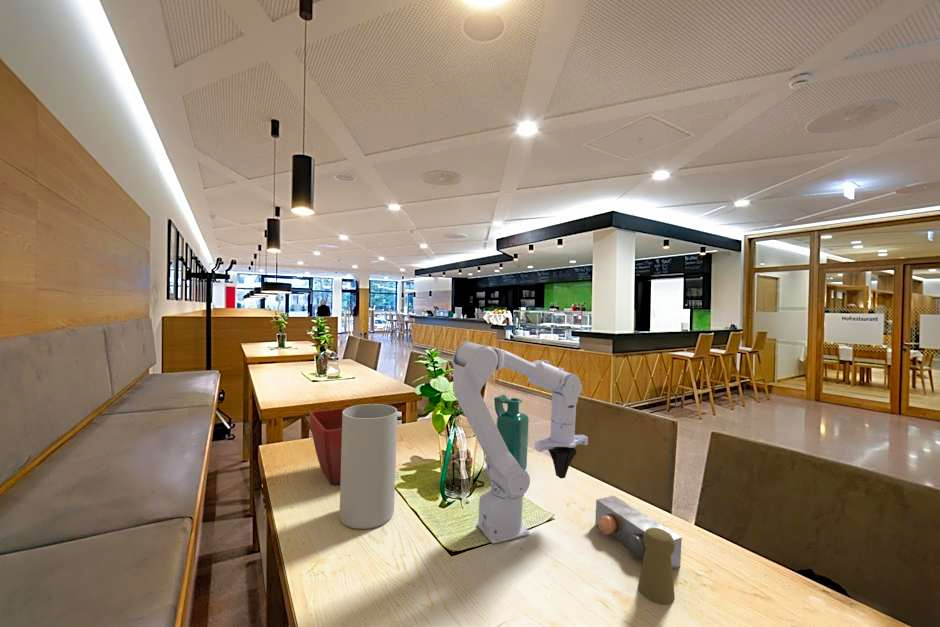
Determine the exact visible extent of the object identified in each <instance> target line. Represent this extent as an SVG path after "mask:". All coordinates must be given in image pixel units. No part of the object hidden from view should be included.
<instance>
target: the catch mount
mask: <svg viewBox="0 0 940 627" xmlns="http://www.w3.org/2000/svg"><path fill="white" fill-rule="evenodd" d="M605 515H611V516H612V517H613V518H614V519H616V520H617V530H616V532H614V533H610V534H608V536H610V537H611V538H613V540H615V541H616V542H618V543H619V544H620V545H622V546H623V547H625V548H626V549H627V546H626V538H627V537H629V536H632V535H635V534H638V535H640V536H641V537H642V538H643V534H644V532H645V531H646V530H647V529H648V528H659V529H662V530H664V531H666V532H668V533H669V534H670V535H671V536H672V538H673V539H674V544H675V549H674V551H673V554H671V563H672V571H673V570H675V569H678V568H681V557H682V543H683V542H682V540H683V539H682V538H683V537H682V536H680V535H678V533H675V532H674V531H672V530H671V529H670V528H667V527H666V526H664V525H662V524H661V523H660V522H657V521H656V520H654V519H653V518H651V517H649V516H648V515H647V514H646V513H643V512H642V511H640V510H638V509H637V508H635V507H633V506H632V505H630V504H628V503H627V502H625V501H624V500H622V499H620V498H619V497H617V496H616V495H610V496H605V497H601V498H597V499H596V502H595V521H594V522H595V524H594V525H595V526H596V527H598V528H599V524H598V519H599V517H601V516H605ZM637 557H638V558H639V559H640V560H642V561H643V558H644V554H643V555H640V556H637Z"/></svg>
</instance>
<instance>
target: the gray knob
mask: <svg viewBox="0 0 940 627" xmlns="http://www.w3.org/2000/svg"><path fill="white" fill-rule="evenodd" d="M626 546H627V548H626V549H627V550H628V552H629V553H630V554H631V556H633V557H638V556H640V555H643V554H645V549H646V547H645V546H644V542H643V538H642V537H641V536H640V535H638V534H635V535H632V536H629V537H627V538H626Z"/></svg>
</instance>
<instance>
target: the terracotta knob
mask: <svg viewBox="0 0 940 627" xmlns="http://www.w3.org/2000/svg"><path fill="white" fill-rule="evenodd" d="M598 524H599V527H598V528H599V530H600V531H601V533H602V534H604V535H609V534H610V533H614V532H616V530H617V520H616V519H614V518H613V517H612V516H611V515H605V516H601V517H599V519H598Z"/></svg>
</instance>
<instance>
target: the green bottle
mask: <svg viewBox="0 0 940 627" xmlns="http://www.w3.org/2000/svg"><path fill="white" fill-rule="evenodd" d="M493 400H494V402H493V403H494V409H495V413H496V415H497V418H496V426H497V428H498V430H499V432H500V434H501V436H502V438H503V440H504V442H505V444H506V446H507V448H508V451H509V452H510V453H511V454H512V456H513V457H514V458H515V459H516V461H517V462H518V463H519V465H520V467H521V468H522V469H524V470H525V469H526V468H527V465H528V464H527V463H528V444H529V440H528V439H529V423H530V422H529V417H528V415H527V414H525V413H523V412H520V404H521V403H523V400H522V399H520V398H517V397H507V396H506V395H505V394H501V395H498V396H496V397H494V398H493ZM504 404H507V410H505V409H504Z"/></svg>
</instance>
